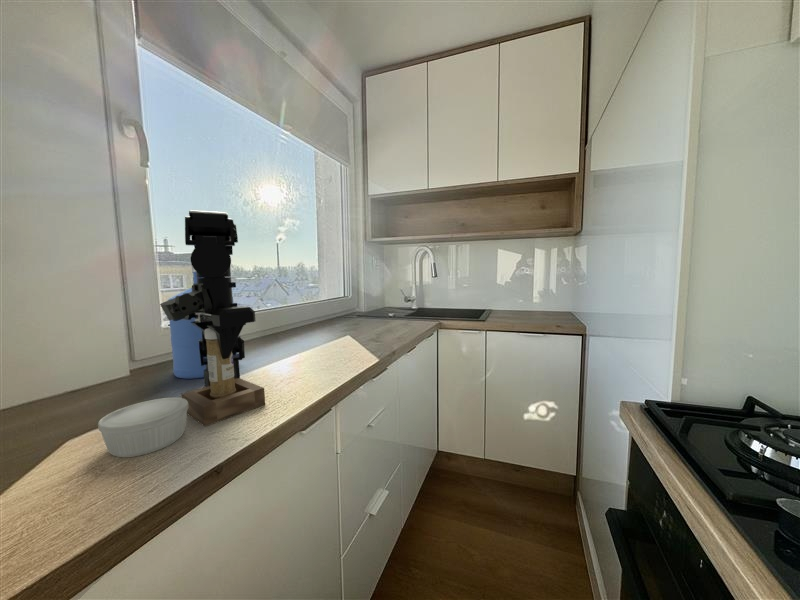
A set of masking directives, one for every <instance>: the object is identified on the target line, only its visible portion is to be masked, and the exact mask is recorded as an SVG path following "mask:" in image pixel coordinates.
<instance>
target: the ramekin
mask: <svg viewBox="0 0 800 600" xmlns="http://www.w3.org/2000/svg"><path fill="white" fill-rule="evenodd" d="M188 407H189V405H188V401H187V400H186V399H183V398H182V397H176V396H175V397H173V396H172V397H163V398H155V399H151V400H146V401H142V402H138V403H134V404H131V405H128V406H127V405H126V406H125V407H122V408H119V409H117V410H114V411H112V412H110V413H108V414H106V415H105V416H103V417H101V419H100V420H99V421H98V423H97V427H98V428H97V429H98V431H99V432H100V433H101V435H102V438H103V440H104V443H105V447H106V450H107V451H108V453H110V455H112V456H114V457H118V458H133V457H139V456H143V455H148V454H150V453H153V452H157V451H160V450H162V449H164V448H166V447H169V446H170V445H172V444H173V443H174V444H175V442H177V441H178V440H179V439H180V438H181V437H182V435H183V434H184V433H185V430H186V428H187V417H188V414H187V410H188Z"/></svg>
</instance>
